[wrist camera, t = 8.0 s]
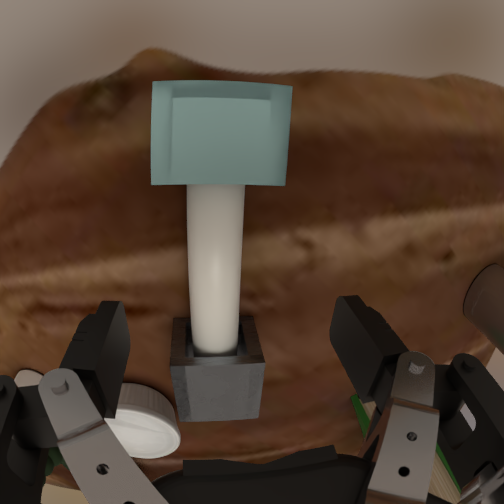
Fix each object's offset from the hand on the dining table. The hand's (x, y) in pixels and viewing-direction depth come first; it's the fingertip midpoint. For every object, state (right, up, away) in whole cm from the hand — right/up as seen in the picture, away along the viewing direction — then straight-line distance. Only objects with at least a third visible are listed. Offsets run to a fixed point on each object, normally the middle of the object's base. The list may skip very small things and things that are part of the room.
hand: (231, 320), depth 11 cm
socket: (-2, +12, +11) cm, 16 cm away
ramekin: (-14, -16, +22) cm, 31 cm away
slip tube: (-3, +2, +15) cm, 16 cm away
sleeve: (-3, -7, +19) cm, 21 cm away
